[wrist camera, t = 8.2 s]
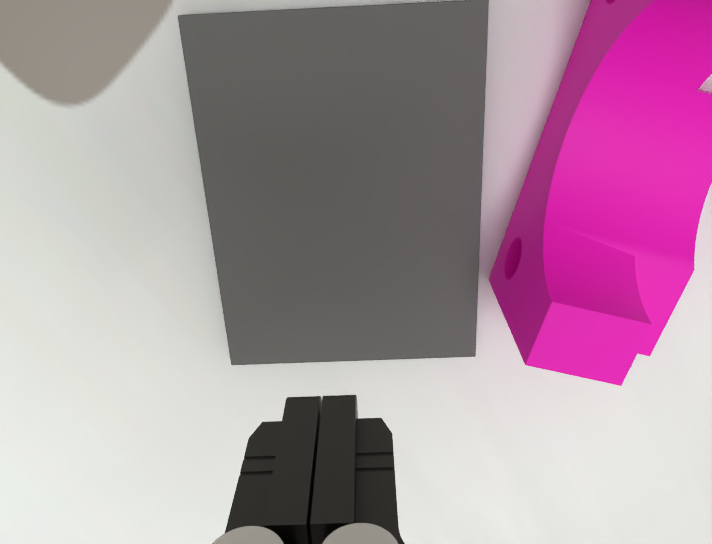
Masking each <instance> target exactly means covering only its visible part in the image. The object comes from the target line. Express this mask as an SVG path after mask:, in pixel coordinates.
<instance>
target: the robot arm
mask: <svg viewBox="0 0 712 544" xmlns="http://www.w3.org/2000/svg"><path fill="white" fill-rule="evenodd" d="M240 473H241V474H240V476H239V479H238V483H237V487H236V491H235V495H234V499H233V503H232V507H231V511H230V515H229V519H228V523H227V527H226V531H225V534H223V535H222V536H220V537H219V538H218V539H217V540H215V541H214V542H213V543H212V544H404V542H403V540H402V539H401V536H400V533H399V528H398V515H397V500H396V485H395V471H394V456H393V440H392V433H391V431H390V430H389V428H388V427H387V426H386V424H385V423H384V421H383V420H382V418H364V419H358V412H357V397H356V395H340V396H323V399H322V400H321V396H315V397H287V399H286V403H285V409H284V414H283V419H282V421H277V422H262V423H261V425H260V426H259V427H258V428H257V429H256V430H255V432H254V433H253V434H252V435H251V436H250V438H249V440H248V444H247V448H246V452H245V456H244V460H243V464H242V468H241V472H240Z"/></svg>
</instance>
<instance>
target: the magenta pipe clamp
mask: <svg viewBox="0 0 712 544" xmlns="http://www.w3.org/2000/svg"><path fill="white" fill-rule="evenodd" d="M711 74H712V0H591V2H590V5H589V7H588V10H587V13H586V16H585V18H584V21H583V24H582V27H581V29H580V32H579V35H578V37H577V40H576V43H575V46H574V48H573V51H572V54H571V57H570V59H569V62H568V65H567V67H566V70H565V73H564V76H563V78H562V81H561V84H560V86H559V89H558V92H557V95H556V97H555V100H554V103H553V106H552V108H551V111H550V114H549V116H548V119H547V122H546V125H545V127H544V130H543V133H542V135H541V138H540V141H539V144H538V146H537V149H536V152H535V155H534V157H533V160H532V163H531V165H530V168H529V171H528V174H527V176H526V179H525V182H524V185H523V187H522V190H521V193H520V195H519V198H518V201H517V204H516V206H515V209H514V212H513V214H512V217H511V220H510V223H509V225H508V228H507V231H506V234H505V236H504V239H503V242H502V244H501V247H500V250H499V253H498V255H497V258H496V261H495V264H494V266H493V269H492V272H491V274H490V277H489V282H490V284H491V286H492V289H493V291H494V293H495V296H496V298H497V300H498V303H499V305H500V307H501V310H502V312H503V314H504V317H505V319H506V321H507V323H508V326H509V328H510V330H511V333H512V335H513V337H514V340H515V342H516V344H517V347H518V349H519V351H520V354H521V356H522V358H523V361H524V363H525V365H528V366H533V367H537V368H542V369H547V370H551V371H556V372H560V373H565V374H570V375H574V376H579V377H583V378H588V379H593V380H597V381H602V382H607V383H611V384H616V385H620V386H621V385H622V383H623V381H624V379H625V377H626V375H627V373H628V371H629V369H630V367H631V365H632V363H633V361H634V359H635V357H636V355H637V353H638V354H643V355H647V356H650V355H651V353H652V351H653V349H654V347H655V345H656V343H657V341H658V339H659V337H660V335H661V333H662V331H663V329H664V328H665V326H666V324H667V322H668V320H669V318H670V316H671V314H672V312H673V310H674V308H675V306H676V304H677V302H678V300H679V298H680V297H681V295H682V293H683V291H684V289H685V287H686V285H687V283H688V281H689V279H690V277H691V275H692V273H693V271H694V252H695V241H696V234H697V228H698V224H699V219H700V215H701V211H702V208H703V204H704V201H705V198H706V196H707V193H708V190H709V187H710V185H711V183H712V93H709V92H706V91H702V90H698V88H699V87H700V86H701V85H702V84H703V82H704V81H705V80H706V79H707V78H708V77H709V76H710V75H711Z"/></svg>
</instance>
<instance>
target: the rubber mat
mask: <svg viewBox="0 0 712 544" xmlns="http://www.w3.org/2000/svg"><path fill="white" fill-rule="evenodd" d="M488 3H489V0H465V1H445V2H426V3H407V4H387V5H368V6H348V7H329V8H310V9H290V10H271V11H251V12H232V13H212V14H193V15H179V16H178V21H179V27H180V34H181V40H182V47H183V53H184V60H185V66H186V73H187V79H188V86H189V92H190V99H191V105H192V112H193V118H194V125H195V131H196V138H197V144H198V151H199V157H200V164H201V170H202V177H203V183H204V190H205V196H206V203H207V209H208V216H209V222H210V229H211V235H212V242H213V248H214V255H215V261H216V268H217V274H218V281H219V287H220V294H221V300H222V307H223V313H224V320H225V326H226V333H227V339H228V346H229V352H230V359H231V365H247V364H275V363H304V362H333V361H361V360H390V359H418V358H447V357H475V352H476V325H477V299H478V272H479V245H480V218H481V191H482V164H483V137H484V111H485V84H486V57H487V30H488Z"/></svg>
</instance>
